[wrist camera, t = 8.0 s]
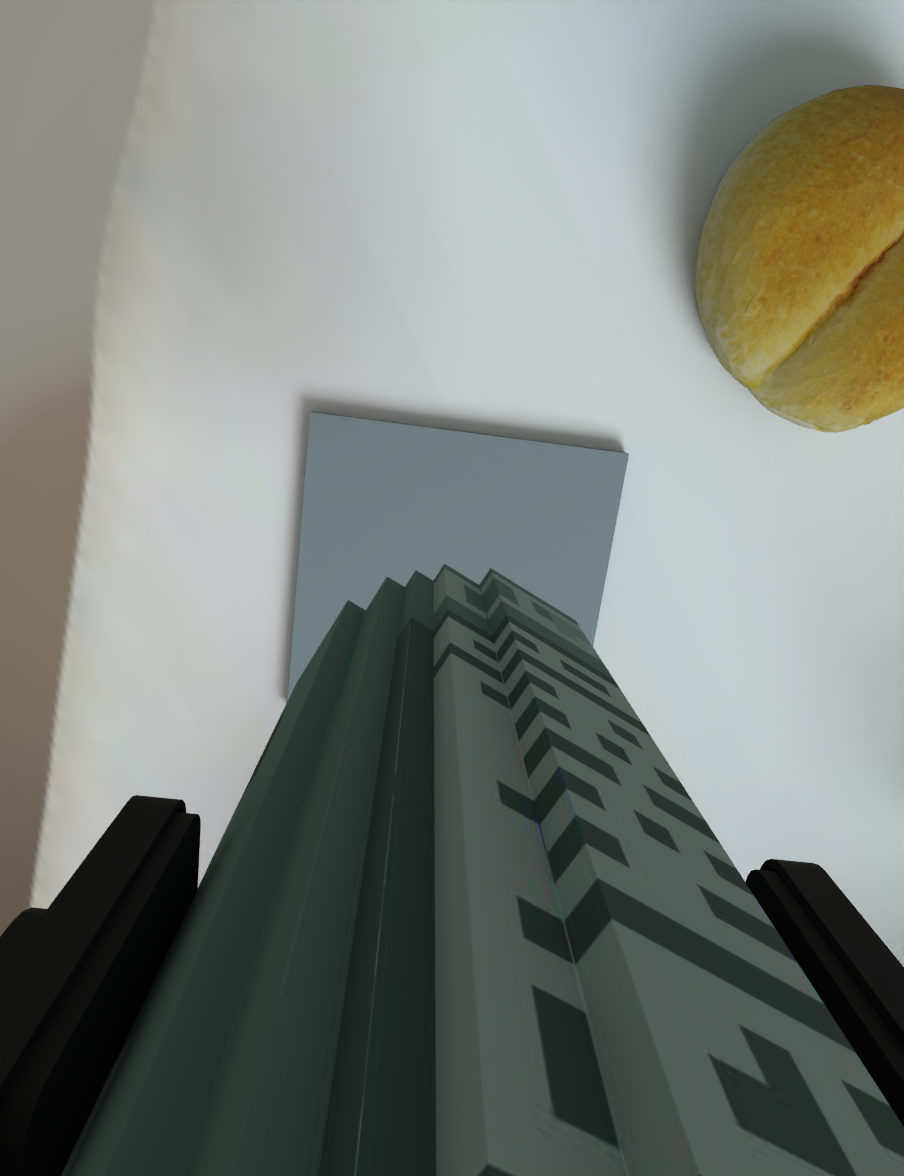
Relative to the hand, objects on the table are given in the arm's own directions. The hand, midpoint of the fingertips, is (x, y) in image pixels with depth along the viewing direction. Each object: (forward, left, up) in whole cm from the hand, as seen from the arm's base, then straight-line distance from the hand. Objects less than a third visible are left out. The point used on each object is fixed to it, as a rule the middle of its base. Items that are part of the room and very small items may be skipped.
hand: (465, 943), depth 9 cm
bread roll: (-11, +10, -17) cm, 23 cm away
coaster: (0, 0, -17) cm, 17 cm away
